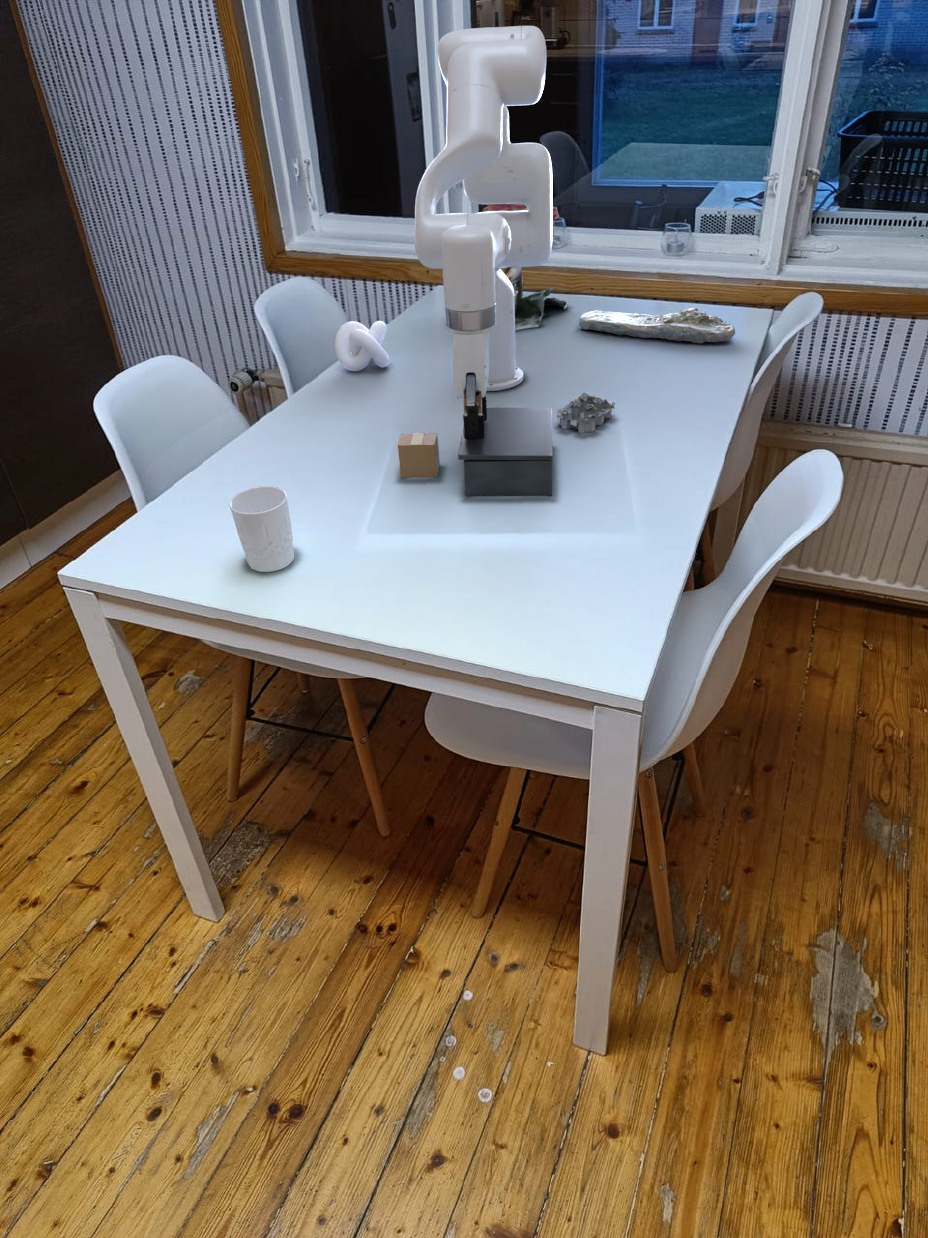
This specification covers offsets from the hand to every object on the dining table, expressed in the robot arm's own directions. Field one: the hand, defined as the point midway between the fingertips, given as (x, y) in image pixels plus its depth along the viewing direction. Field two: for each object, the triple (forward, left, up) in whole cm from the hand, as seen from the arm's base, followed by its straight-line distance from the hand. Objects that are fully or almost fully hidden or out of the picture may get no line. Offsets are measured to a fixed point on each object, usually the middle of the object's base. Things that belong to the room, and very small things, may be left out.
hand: (475, 428), depth 138 cm
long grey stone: (-66, +36, -8) cm, 75 cm away
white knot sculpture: (-51, -27, -8) cm, 58 cm away
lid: (0, +5, -1) cm, 5 cm away
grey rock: (-19, +18, -8) cm, 28 cm away
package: (0, -10, -8) cm, 13 cm away
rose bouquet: (-81, 0, -8) cm, 81 cm away
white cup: (+26, -29, -8) cm, 40 cm away
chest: (0, +5, -8) cm, 10 cm away
